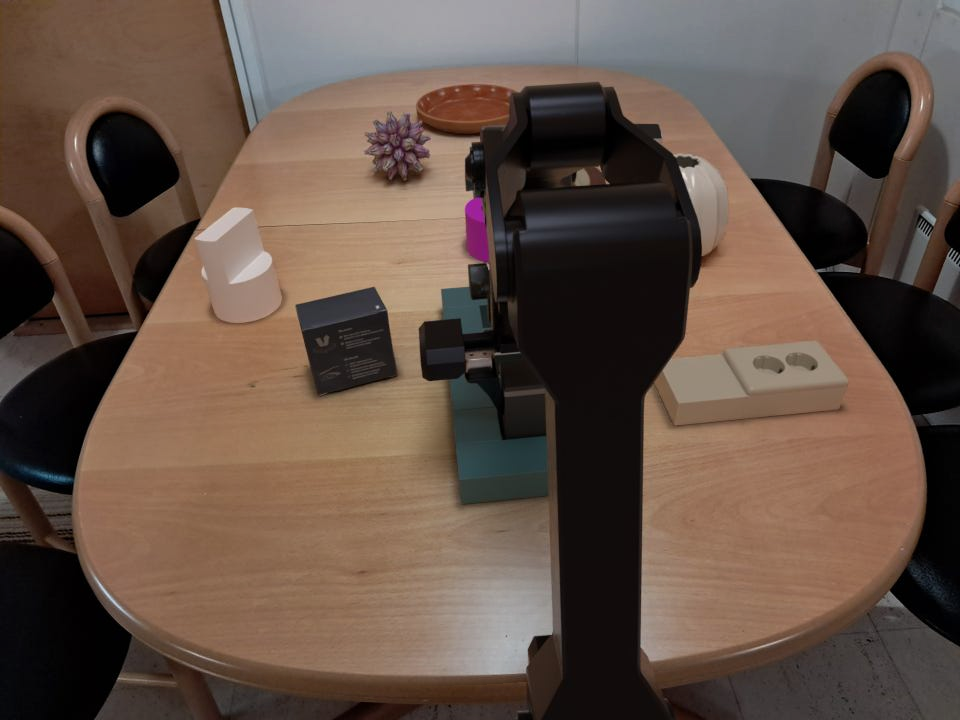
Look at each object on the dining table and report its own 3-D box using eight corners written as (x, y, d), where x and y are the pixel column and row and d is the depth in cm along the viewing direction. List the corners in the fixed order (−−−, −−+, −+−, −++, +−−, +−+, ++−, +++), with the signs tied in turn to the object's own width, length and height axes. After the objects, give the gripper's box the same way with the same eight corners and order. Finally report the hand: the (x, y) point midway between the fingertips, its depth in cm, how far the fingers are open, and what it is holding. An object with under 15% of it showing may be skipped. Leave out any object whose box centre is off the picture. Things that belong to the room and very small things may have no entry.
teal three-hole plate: (605, 489, 66) (608, 464, 64) (461, 504, 65) (459, 479, 63) (547, 302, 91) (547, 279, 89) (442, 311, 91) (440, 288, 88)
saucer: (547, 113, 147) (547, 96, 144) (476, 147, 134) (475, 128, 131) (467, 94, 159) (466, 77, 157) (395, 123, 146) (392, 105, 144)
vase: (642, 219, 108) (652, 135, 100) (732, 239, 102) (750, 151, 94) (607, 259, 99) (615, 170, 91) (704, 283, 93) (722, 190, 85)
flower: (441, 178, 127) (412, 192, 117) (383, 167, 130) (350, 180, 120) (444, 112, 121) (414, 121, 112) (384, 103, 125) (349, 111, 115)
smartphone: (663, 138, 131) (583, 138, 132) (662, 144, 132) (583, 144, 133) (658, 123, 137) (582, 123, 138) (657, 129, 138) (581, 129, 139)
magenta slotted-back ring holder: (533, 262, 99) (533, 223, 95) (464, 263, 100) (462, 224, 96) (533, 211, 112) (533, 175, 108) (472, 212, 112) (470, 175, 108)
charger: (547, 438, 68) (548, 384, 63) (505, 442, 68) (504, 388, 63) (540, 410, 71) (541, 356, 67) (500, 414, 71) (498, 360, 66)
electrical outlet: (658, 353, 75) (818, 338, 76) (653, 381, 78) (808, 366, 79) (679, 396, 70) (851, 379, 71) (674, 425, 72) (840, 409, 73)
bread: (614, 200, 114) (617, 171, 111) (551, 213, 111) (551, 184, 108) (583, 174, 122) (585, 147, 119) (524, 186, 119) (524, 158, 116)
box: (386, 350, 84) (376, 284, 79) (398, 377, 80) (388, 309, 74) (310, 369, 82) (293, 302, 76) (318, 397, 78) (301, 329, 72)
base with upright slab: (260, 327, 89) (236, 245, 82) (200, 317, 92) (171, 237, 84) (294, 290, 96) (274, 211, 88) (238, 282, 98) (214, 204, 91)
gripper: (609, 220, 65) (598, 351, 75) (410, 236, 64) (425, 367, 74) (642, 283, 56) (625, 422, 66) (413, 303, 55) (429, 441, 65)
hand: (523, 410), depth 68 cm, fingers closed on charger, 4 cm apart
